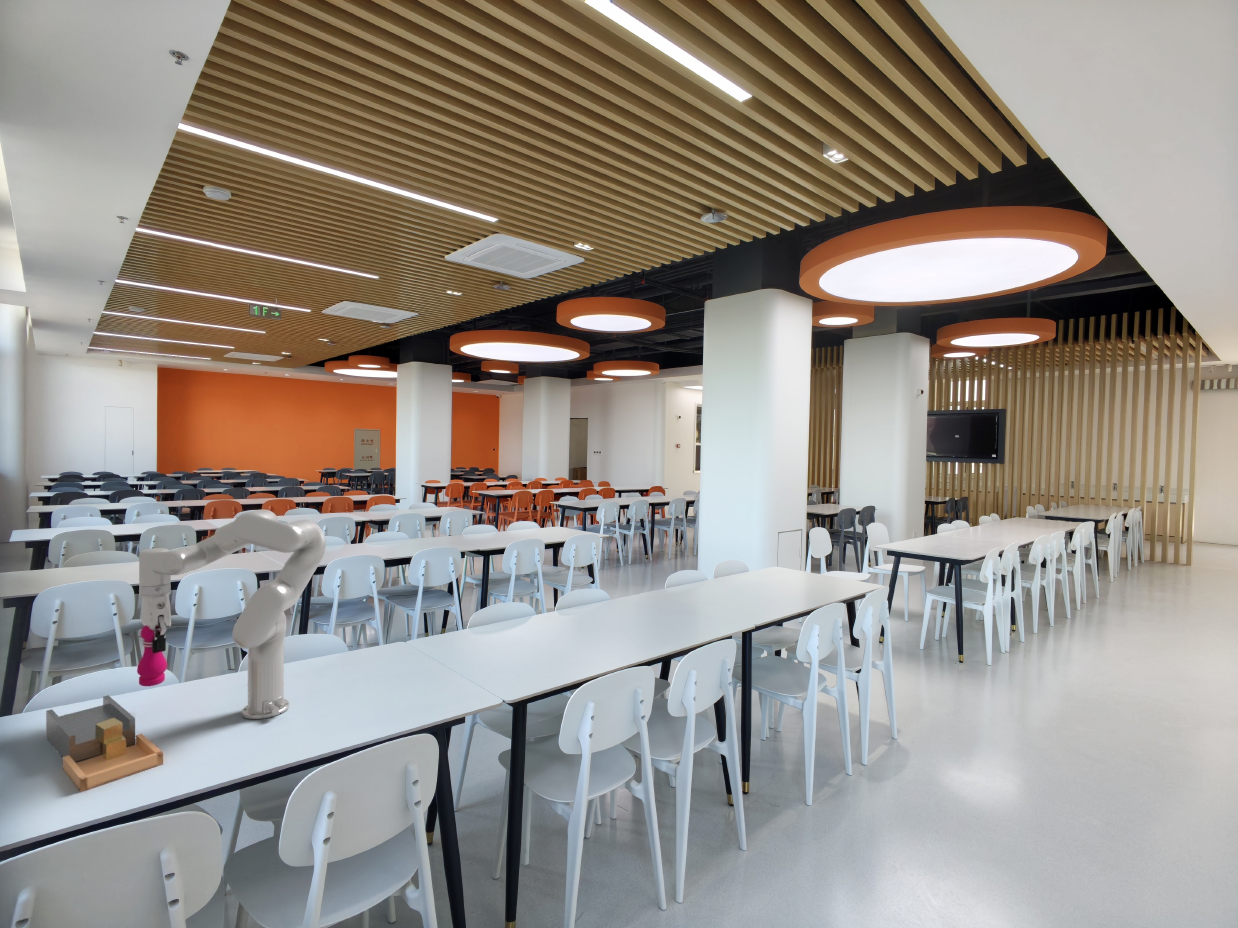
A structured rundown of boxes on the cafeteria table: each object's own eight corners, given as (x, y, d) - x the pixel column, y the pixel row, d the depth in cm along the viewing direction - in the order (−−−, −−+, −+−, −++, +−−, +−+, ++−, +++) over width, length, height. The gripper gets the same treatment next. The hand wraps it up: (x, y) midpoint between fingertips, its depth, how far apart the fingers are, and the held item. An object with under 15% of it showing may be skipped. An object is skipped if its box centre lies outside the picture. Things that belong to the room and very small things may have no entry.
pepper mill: (151, 689, 180) (152, 625, 178) (130, 684, 182) (131, 620, 179) (172, 678, 188) (174, 616, 185) (152, 673, 189) (154, 612, 186)
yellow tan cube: (122, 736, 159) (122, 722, 158) (103, 744, 155) (104, 729, 155) (113, 731, 160) (113, 717, 160) (95, 738, 157) (95, 724, 156)
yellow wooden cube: (122, 749, 160) (126, 754, 158) (102, 755, 157) (106, 760, 155) (122, 734, 160) (126, 739, 158) (102, 739, 157) (106, 744, 155)
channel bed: (135, 745, 164) (135, 718, 163) (69, 766, 153) (69, 736, 153) (108, 720, 178) (108, 695, 178) (46, 737, 167) (46, 710, 167)
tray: (163, 763, 155) (163, 752, 154) (80, 791, 142) (80, 779, 142) (141, 744, 164) (141, 733, 164) (62, 768, 151) (62, 756, 151)
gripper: (180, 592, 181) (180, 652, 181) (160, 583, 191) (160, 640, 191) (149, 596, 175) (149, 659, 175) (130, 587, 185) (130, 646, 185)
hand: (155, 648), depth 183 cm, fingers closed on pepper mill, 5 cm apart
